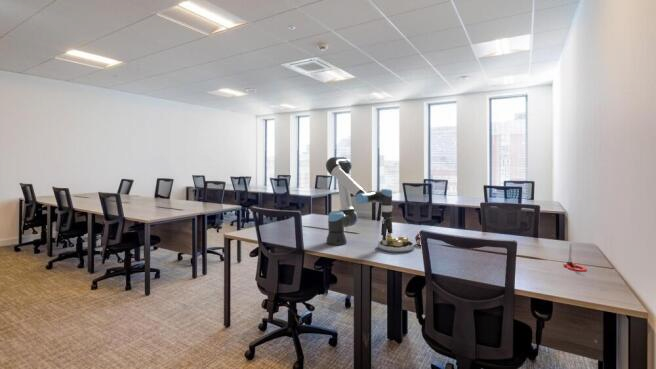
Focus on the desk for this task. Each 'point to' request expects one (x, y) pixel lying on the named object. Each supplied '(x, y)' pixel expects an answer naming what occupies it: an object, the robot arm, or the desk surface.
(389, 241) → the planet gear
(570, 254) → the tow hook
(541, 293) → the desk surface
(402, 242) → the carrier plate
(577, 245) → the desk surface
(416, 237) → the brake caliper
